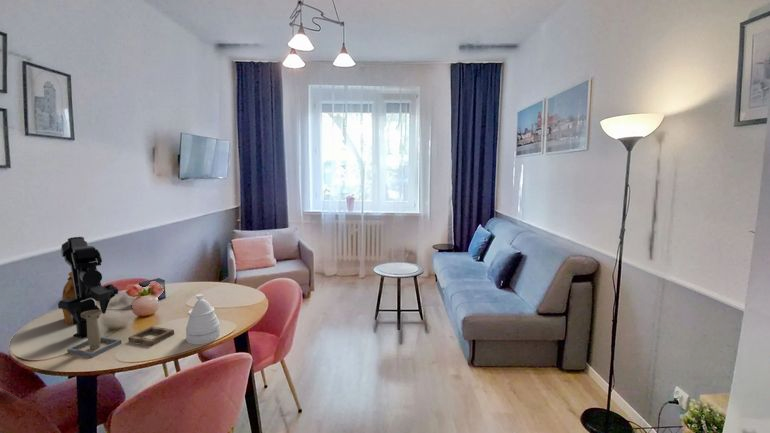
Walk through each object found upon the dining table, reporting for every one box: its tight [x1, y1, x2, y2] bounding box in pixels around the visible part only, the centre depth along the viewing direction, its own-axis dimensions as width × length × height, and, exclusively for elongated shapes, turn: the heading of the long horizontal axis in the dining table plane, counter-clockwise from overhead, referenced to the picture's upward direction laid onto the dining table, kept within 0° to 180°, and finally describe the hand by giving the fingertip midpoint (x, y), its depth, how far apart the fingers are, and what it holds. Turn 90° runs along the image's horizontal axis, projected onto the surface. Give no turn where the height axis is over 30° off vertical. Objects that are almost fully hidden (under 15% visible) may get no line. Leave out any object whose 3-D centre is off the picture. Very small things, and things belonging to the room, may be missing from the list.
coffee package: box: [61, 271, 76, 325], centre depth 170 cm, size 10×12×22 cm
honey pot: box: [185, 293, 221, 345], centre depth 153 cm, size 13×13×18 cm
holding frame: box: [66, 335, 122, 358], centre depth 144 cm, size 13×12×2 cm
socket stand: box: [128, 325, 175, 347], centre depth 153 cm, size 12×11×2 cm
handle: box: [81, 309, 103, 351], centre depth 143 cm, size 5×6×15 cm
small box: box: [138, 278, 167, 301], centre depth 196 cm, size 11×6×10 cm, turn 148°
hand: (92, 318), depth 143 cm, fingers open, 9 cm apart
